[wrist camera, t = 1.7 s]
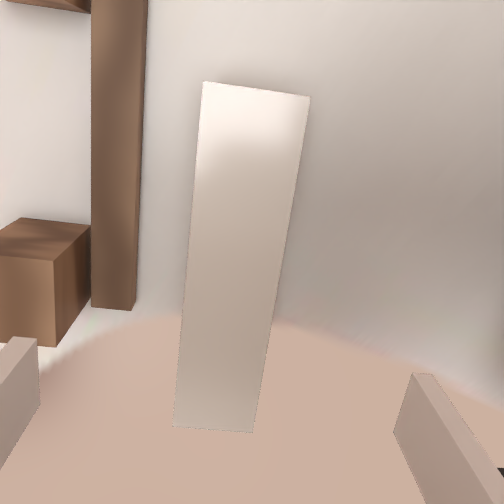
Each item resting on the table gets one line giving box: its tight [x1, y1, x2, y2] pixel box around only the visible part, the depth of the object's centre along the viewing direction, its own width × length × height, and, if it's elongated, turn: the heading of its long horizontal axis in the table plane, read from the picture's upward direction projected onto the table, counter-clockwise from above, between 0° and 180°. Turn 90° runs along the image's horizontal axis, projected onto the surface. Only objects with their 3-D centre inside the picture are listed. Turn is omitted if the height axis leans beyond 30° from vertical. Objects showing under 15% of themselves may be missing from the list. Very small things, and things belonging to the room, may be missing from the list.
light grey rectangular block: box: [172, 81, 311, 433], centre depth 28 cm, size 5×20×10 cm, turn 172°
